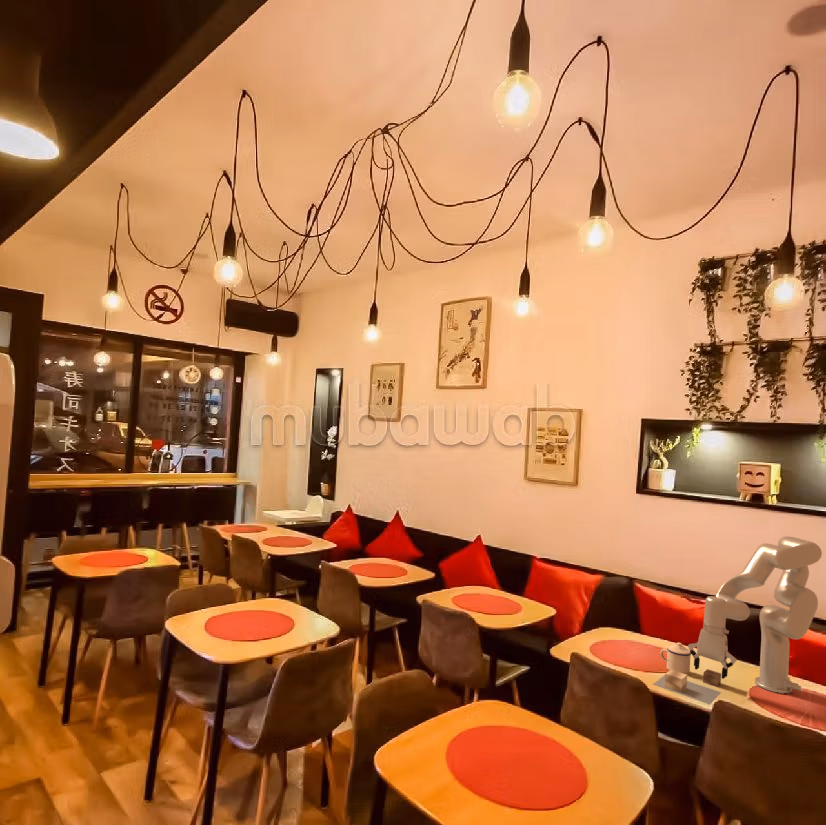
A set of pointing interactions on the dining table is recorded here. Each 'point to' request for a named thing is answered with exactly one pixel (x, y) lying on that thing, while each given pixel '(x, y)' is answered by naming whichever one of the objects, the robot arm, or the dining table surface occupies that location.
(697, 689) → the slate board
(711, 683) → the walnut block
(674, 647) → the teacup with lid
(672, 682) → the maple block
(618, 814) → the dining table surface
